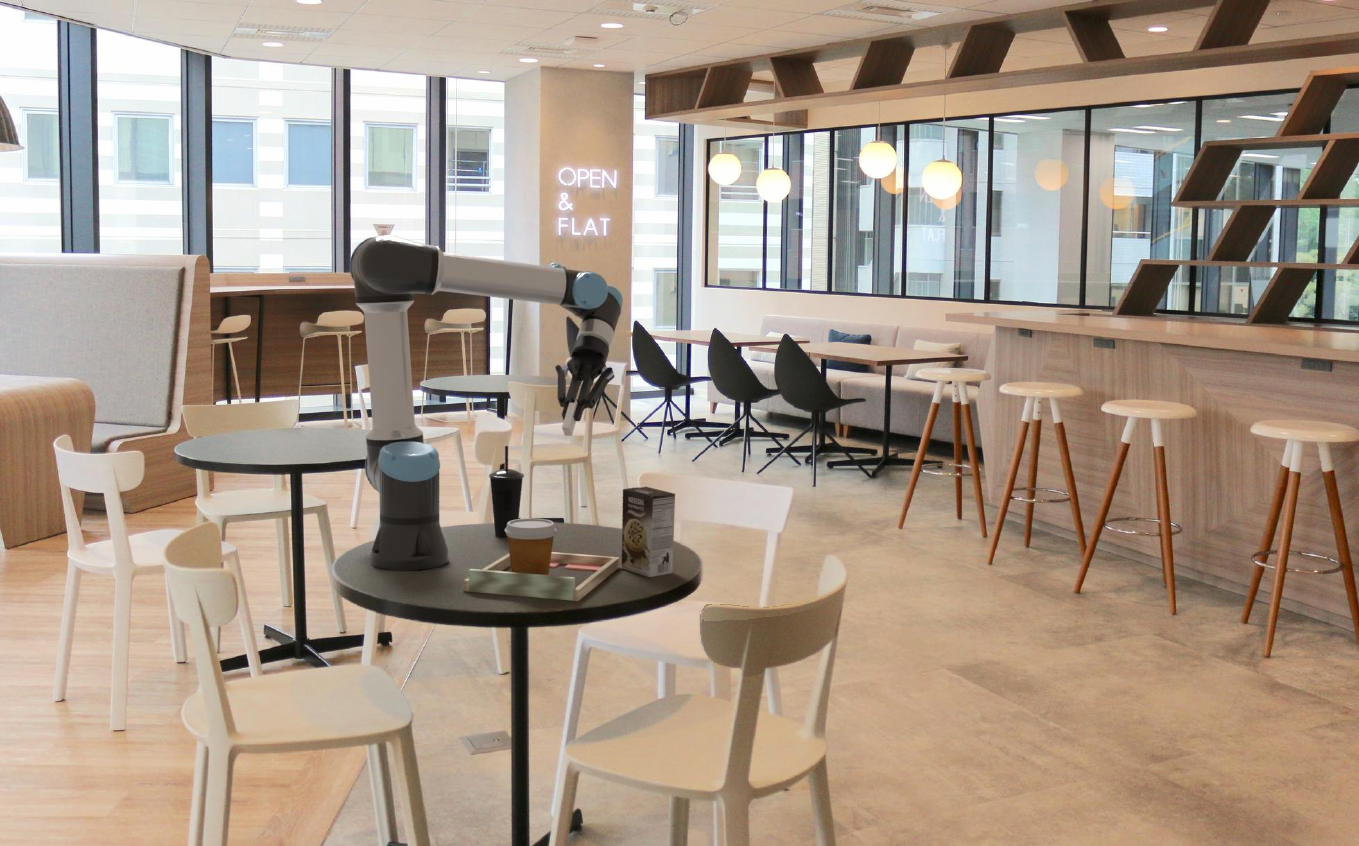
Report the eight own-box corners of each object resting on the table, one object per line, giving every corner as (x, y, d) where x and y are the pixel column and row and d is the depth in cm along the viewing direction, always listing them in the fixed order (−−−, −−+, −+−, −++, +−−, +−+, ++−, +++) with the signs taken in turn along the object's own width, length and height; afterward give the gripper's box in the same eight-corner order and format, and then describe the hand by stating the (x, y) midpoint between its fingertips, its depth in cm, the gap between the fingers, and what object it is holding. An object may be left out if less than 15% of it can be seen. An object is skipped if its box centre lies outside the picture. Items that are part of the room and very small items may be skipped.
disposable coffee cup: (557, 580, 225) (558, 518, 224) (553, 593, 216) (554, 529, 214) (507, 579, 225) (507, 517, 223) (501, 592, 215) (501, 528, 214)
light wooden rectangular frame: (463, 590, 216) (463, 569, 215) (515, 558, 241) (515, 539, 241) (578, 601, 211) (578, 579, 210) (619, 567, 236) (619, 547, 236)
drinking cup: (530, 534, 264) (531, 445, 261) (508, 540, 257) (508, 449, 255) (504, 530, 268) (504, 442, 265) (481, 535, 261) (481, 446, 259)
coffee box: (619, 568, 235) (621, 488, 233) (644, 564, 239) (646, 485, 237) (649, 578, 228) (650, 495, 226) (674, 573, 232) (676, 492, 230)
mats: (516, 564, 236) (516, 563, 236) (523, 560, 240) (523, 559, 240) (603, 571, 232) (603, 570, 232) (608, 567, 236) (608, 566, 235)
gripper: (624, 358, 256) (601, 444, 242) (567, 355, 259) (541, 441, 245) (618, 334, 250) (593, 421, 236) (560, 332, 253) (532, 418, 239)
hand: (566, 431), depth 241 cm, fingers closed
